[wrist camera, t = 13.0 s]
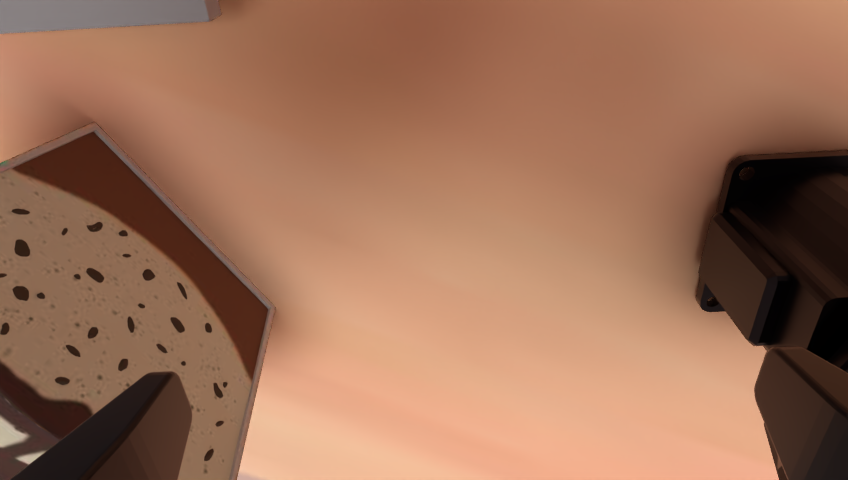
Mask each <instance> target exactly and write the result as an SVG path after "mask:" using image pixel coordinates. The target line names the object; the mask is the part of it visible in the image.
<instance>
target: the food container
mask: <svg viewBox="0 0 848 480" xmlns="http://www.w3.org/2000/svg"><path fill="white" fill-rule="evenodd" d="M275 308H276V307H275V306H274V305H273V304H272V303H271V302H270V301H269V300H268V299H267V298H266V297H265V296H264V295H263V294H262V293H261V292H260V291H259V290H258V289H257V288H256V287H255V286H254V285H253V284H252V283H251V282H250V281H249V280H248V279H247V278H246V277H245V276H244V274H243V273H242V272H241V271H240V270H239V269H238V268H237V267H236V266H235V265H234V264H233V263H232V262H231V261H230V260H229V259H228V258H227V257H226V256H225V255H224V254H223V253H222V252H221V251H220V250H219V249H218V248H217V247H216V246H215V245H214V244H213V243H212V242H211V241H210V240H209V239H208V238H207V237H206V236H205V234H204V233H203V232H202V231H201V230H200V229H199V228H198V227H197V226H196V225H195V224H194V223H193V222H192V221H191V220H190V219H189V218H188V217H187V216H186V215H185V214H184V213H183V212H182V211H181V210H180V209H179V208H178V207H177V206H176V205H175V204H174V203H173V202H172V201H171V200H170V199H169V198H168V197H167V196H166V195H165V193H164V192H163V191H162V190H161V189H160V188H159V187H158V186H157V185H156V184H155V183H154V182H153V181H152V180H151V179H150V178H149V177H148V176H147V175H146V174H145V173H144V172H143V171H142V170H141V169H140V168H139V167H138V166H137V165H136V164H135V163H134V162H133V161H132V160H131V159H130V158H129V157H128V156H127V155H126V153H125V152H124V151H123V150H122V149H121V148H120V147H119V146H118V145H117V144H116V143H115V142H114V141H113V140H112V139H111V138H110V137H109V136H108V135H107V134H106V133H105V132H104V131H103V130H102V129H101V128H100V127H99V126H98V125H97V124H96V123H95V122H93V123H91V124H89V125H86V126H84V127H82V128H79V129H77V130H75V131H73V132H70V133H68V134H66V135H63V136H61V137H59V138H57V139H54V140H52V141H50V142H47V143H45V144H43V145H41V146H38V147H36V148H34V149H31V150H29V151H27V152H25V153H22V154H20V155H18V156H16V157H13V158H11V159H9V160H6V161H4V162H2V163H0V480H10V479H11V478H12V477H13V476H15V475H16V474H17V473H19V472H20V471H21V470H22V469H24V468H25V467H26V466H28V465H29V464H30V463H32V462H33V461H34V460H35V459H37V458H38V457H39V456H41V455H42V454H43V453H44V452H46V451H47V450H48V449H50V448H51V447H52V446H53V445H55V444H56V443H57V442H59V441H60V440H61V439H62V438H64V437H65V436H66V435H68V434H69V433H70V432H72V431H73V430H74V429H75V428H77V427H78V426H79V425H81V424H82V423H83V422H84V421H86V420H87V419H88V418H90V417H91V416H92V415H93V414H95V413H96V412H97V411H99V410H100V409H101V408H103V407H104V406H105V405H106V404H108V403H109V402H110V401H112V400H113V399H114V398H115V397H117V396H118V395H119V394H121V393H122V392H123V391H124V390H126V389H127V388H128V387H130V386H131V385H132V384H134V383H135V382H136V381H137V380H139V379H140V378H141V377H143V376H144V375H146V374H147V373H150V372H162V371H173V372H176V373H177V374H178V375H179V377H180V379H181V381H182V384H183V387H184V389H185V392H186V395H187V397H188V400H189V403H190V405H191V409H192V423H191V428H190V432H189V436H188V440H187V444H186V448H185V452H184V456H183V460H182V464H181V469H180V473H179V477H178V480H237V476H238V472H239V467H240V463H241V459H242V454H243V450H244V445H245V441H246V436H247V432H248V428H249V423H250V419H251V414H252V410H253V405H254V401H255V396H256V392H257V388H258V383H259V379H260V374H261V370H262V365H263V361H264V357H265V352H266V348H267V343H268V339H269V334H270V330H271V326H272V321H273V317H274V312H275Z"/></svg>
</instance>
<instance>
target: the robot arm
mask: <svg viewBox="0 0 848 480" xmlns="http://www.w3.org/2000/svg"><path fill="white" fill-rule="evenodd" d="M746 167H749V169H748V171H747V172H746V173H745V174H744V175H740V176H739V173H740V172H741V170H742V169H744V168H746ZM698 273H699V275H700V277H701V278H700V282H699V286H698V290H697V295H696V301H697V302H698V304H699V305H700V307H701V308H702V310H704V311H707V312H720V311H726V312H727V314H728V315H729V316H730V318H731V319H732V320H733V322H734V323H735V325H736V326H737V327H738V329H739V330H740V331H741V333H742V334H743V335H744V337H745V338H746V339H747V340H748V341H749V342H750V343H751V344H752V345H753V346H764V348H765V349H766V350H767V353H766V355H765V357H764V360H763V363H762V366H761V369H760V372H759V375H758V378H757V381H756V384H755V390H754V392H755V399H756V402H757V405H758V408H759V410H760V413H761V415H762V417H763V420H764V422H765V423H764V427H765V430H766V434H767V438H768V441H769V445H770V448H771V452H772V456H773V459H774V463H775V466H776V470H777V474H778V477H779V480H848V150H844V151H824V152H805V153H785V154H765V155H745V156H740V157H738V158H736V159H734V160H733V161H732V162H731V163H730V164H729V166H728V168H727V171H726V175H725V179H724V183H723V187H722V191H721V195H720V200H719V204H718V208H717V212H716V214H715V215H714V216H713V217H712V218H711V221H710V225H709V229H708V233H707V238H706V242H705V246H704V250H703V254H702V259H701V263H700V267H699V271H698ZM711 297H714V298H713V299H712V300H709V301H707V300H708V299H709V298H711ZM191 423H192V409H191V405H190V403H189V400H188V397H187V395H186V392H185V389H184V387H183V384H182V381H181V379H180V377H179V375H178V374H177V373H176V372H173V371H162V372H150V373H147V374H146V375H144V376H143V377H141V378H140V379H139V380H137V381H136V382H135V383H134V384H132V385H131V386H130V387H128V388H127V389H126V390H124V391H123V392H122V393H121V394H119V395H118V396H117V397H115V398H114V399H113V400H112V401H110V402H109V403H108V404H106V405H105V406H104V407H103V408H101V409H100V410H99V411H97V412H96V413H95V414H93V415H92V416H91V417H90V418H88V419H87V420H86V421H84V422H83V423H82V424H81V425H79V426H78V427H77V428H75V429H74V430H73V431H72V432H70V433H69V434H68V435H66V436H65V437H64V438H62V439H61V440H60V441H59V442H57V443H56V444H55V445H53V446H52V447H51V448H50V449H48V450H47V451H46V452H44V453H43V454H42V455H41V456H39V457H38V458H37V459H35V460H34V461H33V462H32V463H30V464H29V465H28V466H26V467H25V468H24V469H22V470H21V471H20V472H19V473H17V474H16V475H15V476H13V477H12V478H11V479H10V480H178V477H179V473H180V469H181V464H182V460H183V456H184V452H185V448H186V444H187V440H188V436H189V432H190V428H191Z"/></svg>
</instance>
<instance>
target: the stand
mask: <svg viewBox="0 0 848 480" xmlns="http://www.w3.org/2000/svg"><path fill="white" fill-rule="evenodd" d="M220 15H221V11H220V6H219V2H218V0H0V34H4V33H21V32H38V31H55V30H73V29H90V28H107V27H124V26H142V25H159V24H176V23H193V22H210V21H211V20H213V19H215V18H217V17H218V16H220Z"/></svg>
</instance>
